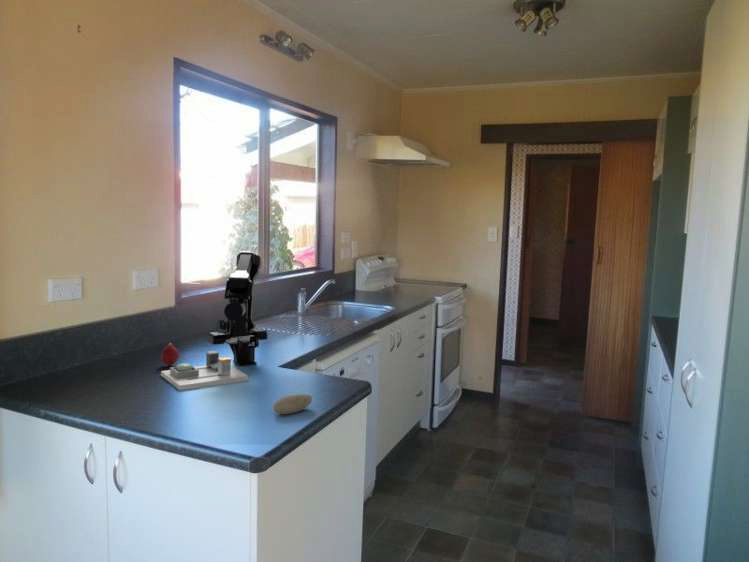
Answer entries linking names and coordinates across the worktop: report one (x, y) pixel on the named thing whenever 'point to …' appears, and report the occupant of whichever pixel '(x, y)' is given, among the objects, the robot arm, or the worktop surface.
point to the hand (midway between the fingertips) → (237, 361)
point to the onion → (169, 355)
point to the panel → (201, 377)
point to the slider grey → (211, 358)
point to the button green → (184, 367)
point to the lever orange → (224, 366)
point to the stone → (292, 403)
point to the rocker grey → (214, 365)
